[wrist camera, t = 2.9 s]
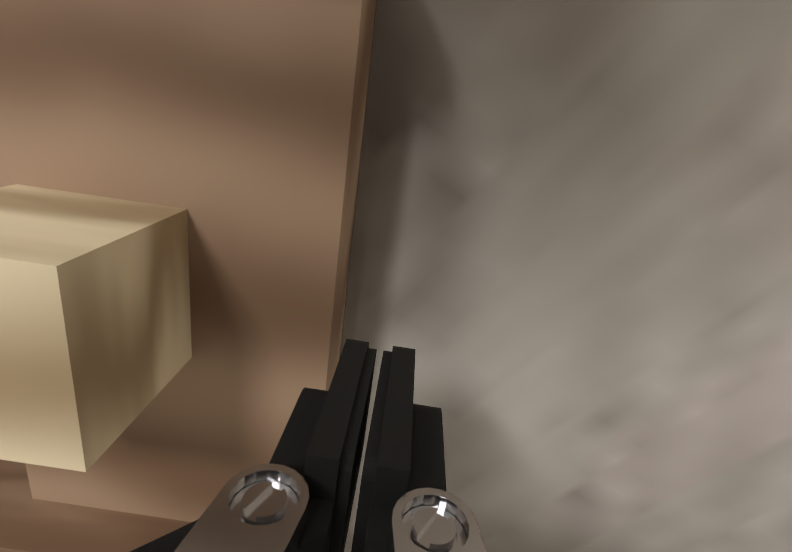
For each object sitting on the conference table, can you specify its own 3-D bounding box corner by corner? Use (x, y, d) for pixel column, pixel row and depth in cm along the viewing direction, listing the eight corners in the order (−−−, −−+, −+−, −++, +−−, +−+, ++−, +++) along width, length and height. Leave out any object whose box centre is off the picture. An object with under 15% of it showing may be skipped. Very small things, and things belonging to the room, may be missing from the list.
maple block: (17, 184, 13) (-208, 227, 8) (187, 208, 13) (56, 266, 8) (42, 335, 15) (-132, 439, 10) (191, 357, 15) (86, 472, 10)
